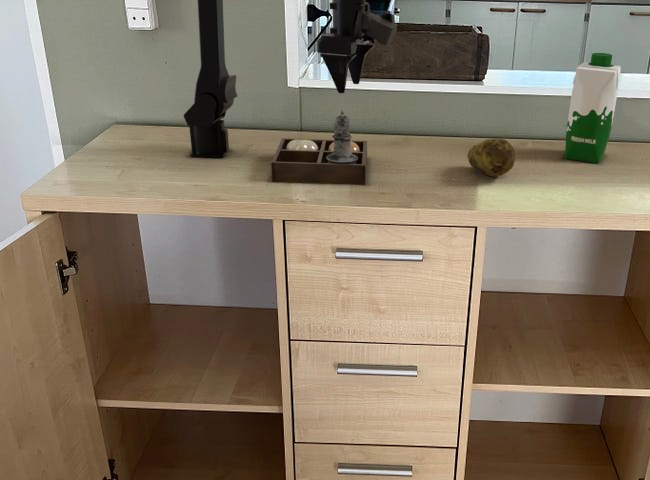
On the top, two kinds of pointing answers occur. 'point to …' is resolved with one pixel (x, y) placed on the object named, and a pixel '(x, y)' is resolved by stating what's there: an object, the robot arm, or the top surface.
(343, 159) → the grey chess piece
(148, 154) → the top surface
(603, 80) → the milk carton
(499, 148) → the potato
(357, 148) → the brown egg
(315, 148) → the cream egg
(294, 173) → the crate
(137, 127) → the top surface
